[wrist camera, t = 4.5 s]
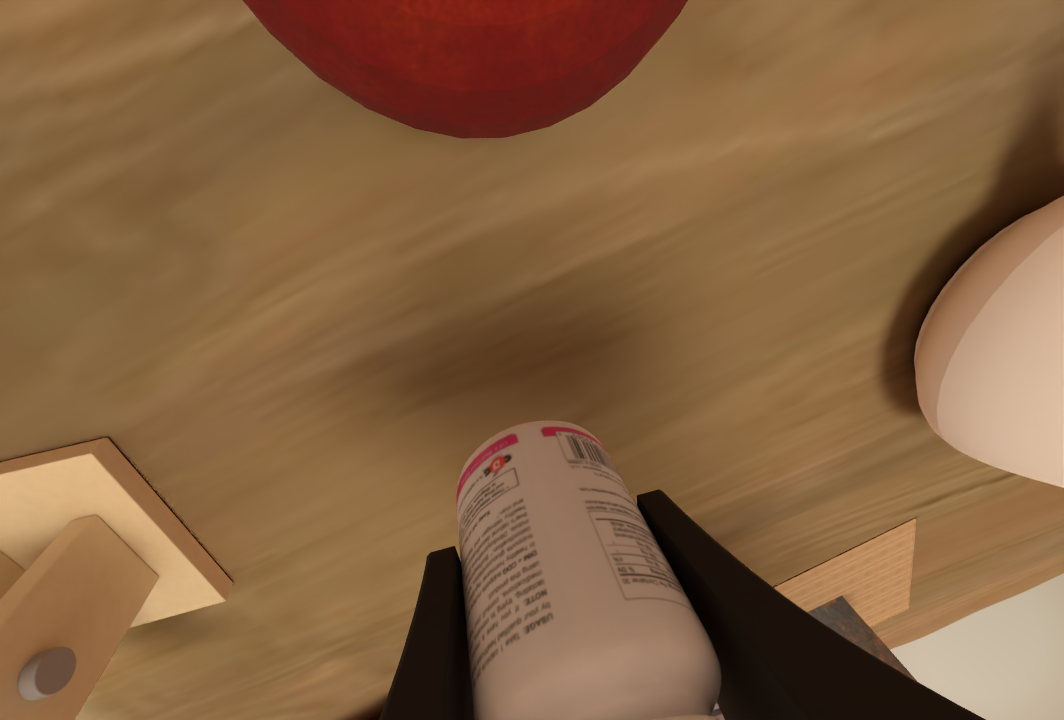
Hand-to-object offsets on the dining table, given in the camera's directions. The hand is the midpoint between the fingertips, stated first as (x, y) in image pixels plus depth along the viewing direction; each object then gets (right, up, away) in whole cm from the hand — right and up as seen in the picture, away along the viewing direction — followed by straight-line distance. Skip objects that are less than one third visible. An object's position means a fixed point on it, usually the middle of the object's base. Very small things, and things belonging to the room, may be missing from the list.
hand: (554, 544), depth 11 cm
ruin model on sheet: (+22, -20, +28) cm, 41 cm away
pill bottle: (-1, +1, +2) cm, 3 cm away
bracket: (-21, -3, +8) cm, 22 cm away
